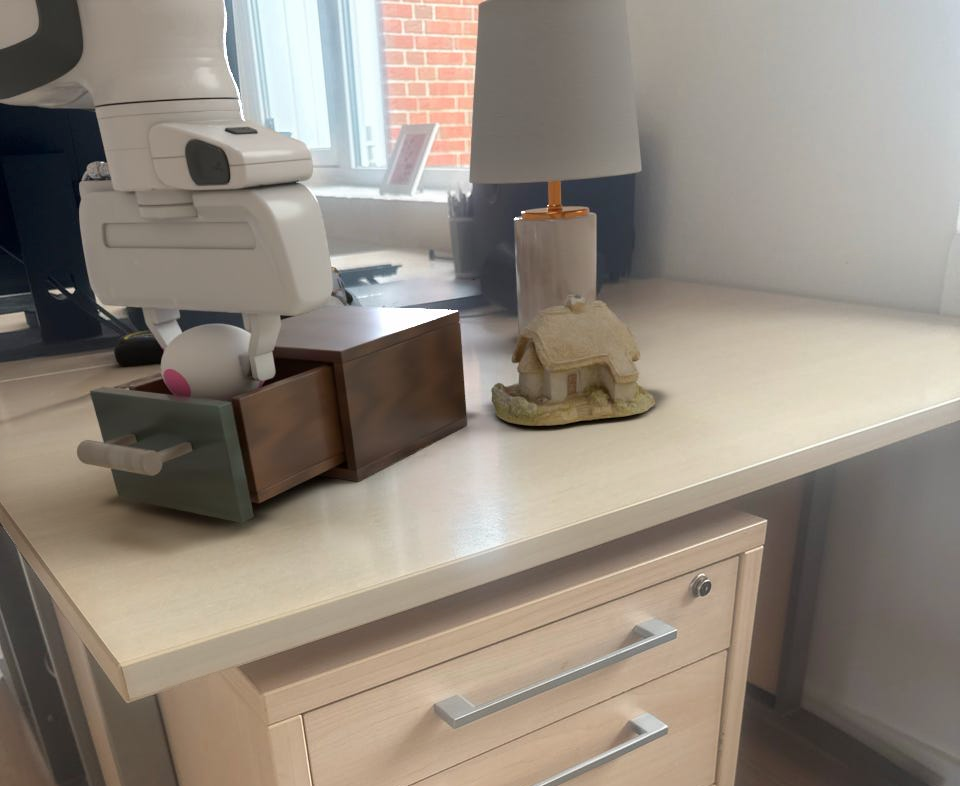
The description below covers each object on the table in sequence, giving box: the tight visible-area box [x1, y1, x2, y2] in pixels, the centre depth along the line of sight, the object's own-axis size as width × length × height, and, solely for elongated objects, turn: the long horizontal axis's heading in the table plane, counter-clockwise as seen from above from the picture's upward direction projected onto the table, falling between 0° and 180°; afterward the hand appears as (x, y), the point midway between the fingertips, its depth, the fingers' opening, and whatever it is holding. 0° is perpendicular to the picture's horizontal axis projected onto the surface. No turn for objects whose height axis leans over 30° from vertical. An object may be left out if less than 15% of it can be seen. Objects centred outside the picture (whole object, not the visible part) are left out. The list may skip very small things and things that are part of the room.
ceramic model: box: [490, 294, 656, 427], centre depth 80 cm, size 14×11×10 cm
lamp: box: [468, 0, 643, 335], centre depth 101 cm, size 19×19×34 cm
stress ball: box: [160, 323, 265, 414], centre depth 65 cm, size 8×8×7 cm
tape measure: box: [113, 330, 164, 368], centre depth 111 cm, size 7×7×4 cm
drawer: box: [76, 358, 347, 524], centre depth 66 cm, size 19×13×8 cm, turn 149°
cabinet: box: [244, 305, 468, 482], centre depth 76 cm, size 16×14×10 cm
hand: (221, 375), depth 65 cm, fingers closed on stress ball, 6 cm apart
